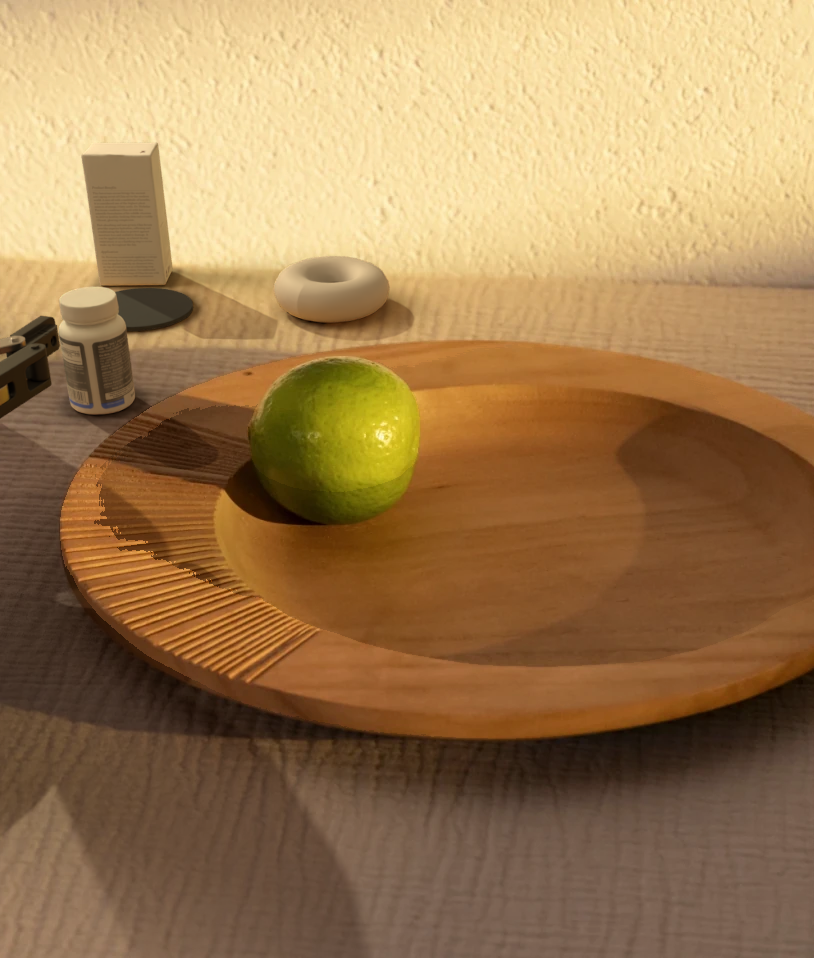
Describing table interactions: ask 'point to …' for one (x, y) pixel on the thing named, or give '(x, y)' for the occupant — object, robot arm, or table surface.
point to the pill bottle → (95, 351)
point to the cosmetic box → (128, 213)
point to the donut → (331, 289)
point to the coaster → (152, 308)
